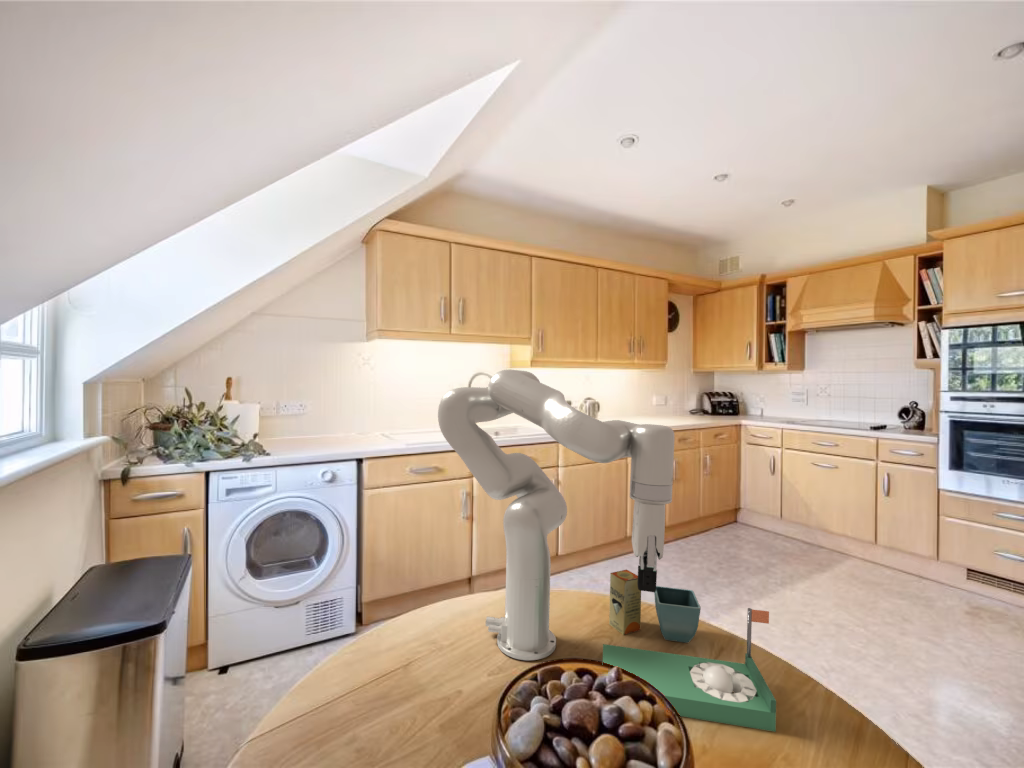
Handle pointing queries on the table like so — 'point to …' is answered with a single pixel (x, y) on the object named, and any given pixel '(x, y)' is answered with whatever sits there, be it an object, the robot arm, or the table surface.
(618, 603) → the shoe polish box
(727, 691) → the ball
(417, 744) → the table surface
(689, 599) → the flower pot
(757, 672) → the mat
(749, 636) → the flag
